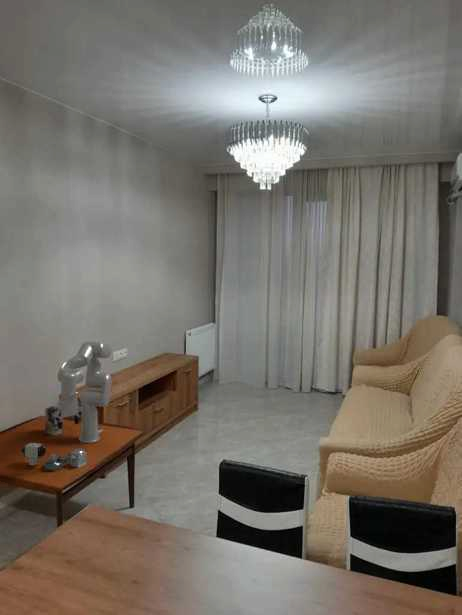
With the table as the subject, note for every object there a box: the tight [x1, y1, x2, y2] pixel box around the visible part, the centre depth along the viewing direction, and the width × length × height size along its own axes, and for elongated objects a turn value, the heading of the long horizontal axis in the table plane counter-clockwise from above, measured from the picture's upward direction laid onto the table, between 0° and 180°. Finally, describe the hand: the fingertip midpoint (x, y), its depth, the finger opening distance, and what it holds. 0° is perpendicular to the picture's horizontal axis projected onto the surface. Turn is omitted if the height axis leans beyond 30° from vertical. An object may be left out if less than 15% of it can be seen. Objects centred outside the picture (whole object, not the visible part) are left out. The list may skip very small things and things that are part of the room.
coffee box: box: [45, 405, 63, 436], centre depth 297 cm, size 9×6×16 cm
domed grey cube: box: [69, 448, 88, 469], centre depth 256 cm, size 6×6×8 cm
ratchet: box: [44, 453, 70, 473], centre depth 257 cm, size 22×9×7 cm, turn 152°
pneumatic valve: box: [21, 442, 47, 466], centre depth 254 cm, size 6×12×12 cm, turn 78°
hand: (68, 426), depth 253 cm, fingers open, 9 cm apart
